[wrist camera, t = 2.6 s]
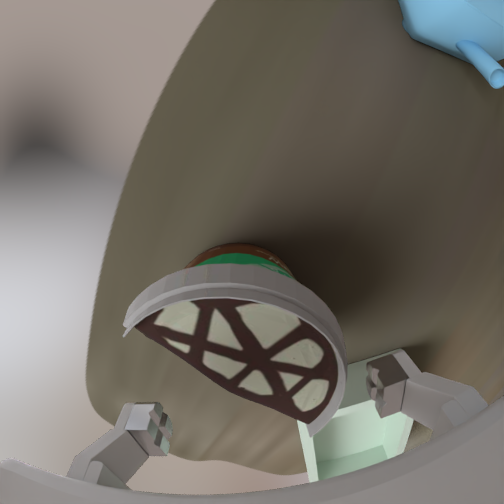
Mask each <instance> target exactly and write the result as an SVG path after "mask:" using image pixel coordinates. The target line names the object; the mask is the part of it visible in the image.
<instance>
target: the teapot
mask: <svg viewBox="0 0 504 504" xmlns="http://www.w3.org/2000/svg"><path fill="white" fill-rule="evenodd" d="M398 2H399V5H400V8H401V12H402V15H403V18H404V19H403V20H402V25H403V27H404V29H405V30H406V31H407V32H408V33H409V35H410V37H411V38H413V39H415V40H417V41H419V42H422V43H424V44H426V45H429V46H431V47H434V48H436V49H438V50H441V51H443V52H445V53H448V54H450V55H452V56H454V57H457V58H459V59H461V60H463V61H466V62H468V63H470V64H473V65H474V66H475V67H476V69H477V70H478V71H479V72H480V73H481V74H482V75H483V77H484V78H485V79H486V80H487V81H488V82H489V84H490V85H491V86H492V87H493V88H496V89H499V88H501V87H503V86H504V69H503V68H502V67H501V66H500V65H499V64H498V63H497V62H496V61H499V60H501V59H504V0H398Z"/></svg>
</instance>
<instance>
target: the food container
mask: <svg viewBox="0 0 504 504" xmlns="http://www.w3.org/2000/svg"><path fill="white" fill-rule="evenodd" d="M123 326H125V327H126V328H127V329H126V331H125V333H124V334H123V337H125V336H126V335H127V334H128V333H129V331H130V330H131V329H132V328H133V327H135V328H136V329H137V330H139V331H140V332H142V333H143V334H144V335H145V336H146V337H148V338H150V339H152V340H154V341H155V342H157V343H159V344H160V345H162V346H164V347H165V348H167V349H168V350H170V351H171V352H173V353H174V354H176V355H177V356H179V357H180V358H182V359H183V360H185V361H186V362H187V363H189V364H190V365H192V366H193V367H194V368H196V369H197V370H198V371H200V372H201V373H202V374H204V375H205V376H207V377H208V378H209V379H211V380H212V381H214V382H215V383H217V384H218V385H220V386H221V387H223V388H224V389H226V390H227V391H229V392H231V393H233V394H236V395H238V396H240V397H243V398H245V399H248V400H250V401H253V402H256V403H259V404H262V405H265V406H267V407H270V408H272V409H275V410H277V411H279V412H281V413H283V414H285V415H288V416H290V417H292V418H294V419H297V420H299V421H301V422H303V423H305V424H306V427H307V430H308V433H309V437H310V438H311V437H312V436H314V435H315V434H316V433H318V432H319V431H320V430H321V429H322V428H323V427H324V426H325V425H326V424H327V423H328V422H329V421H330V420H331V419H332V417H333V416H334V414H335V413H336V412H337V410H338V408H339V406H340V404H341V401H342V399H343V395H344V391H345V385H346V381H347V368H348V364H347V356H346V348H345V343H344V338H343V334H342V330H341V328H340V326H339V324H338V322H337V319H336V317H335V316H334V314H333V313H332V312H331V310H330V309H329V308H328V306H327V305H326V304H325V303H324V302H323V301H322V300H321V299H320V298H319V297H318V296H317V295H316V294H315V293H314V292H312V291H311V290H310V289H308V288H307V287H305V286H303V285H302V284H300V283H299V282H297V281H296V279H295V277H294V276H293V274H292V273H291V271H290V270H289V269H288V267H287V266H286V264H285V263H284V262H283V261H282V260H281V259H280V258H279V257H278V256H276V255H275V254H273V253H272V252H270V251H268V250H266V249H264V248H261V247H259V246H255V245H251V244H243V243H232V244H225V245H220V246H216V247H214V248H211V249H209V250H207V251H205V252H203V253H202V254H200V255H198V256H197V257H196V258H195V259H194V260H192V261H191V262H190V263H189V264H188V265H187V266H186V267H185V268H184V269H183V270H181V271H178V272H175V273H172V274H170V275H167V276H165V277H164V278H162V279H160V280H158V281H157V282H155V283H153V284H151V285H150V286H149V287H148V288H146V289H145V290H144V291H143V292H142V293H141V294H139V295H138V296H137V297H136V299H135V300H134V301H133V302H132V304H131V305H130V306H129V308H128V311H127V314H126V317H125V320H124V323H123Z"/></svg>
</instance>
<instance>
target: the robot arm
mask: <svg viewBox="0 0 504 504" xmlns="http://www.w3.org/2000/svg"><path fill="white" fill-rule="evenodd" d="M366 370H367V372H368V376H367V377H366V386H367V391H368V394H369V396H370V398H371V399H372V400H374V401H375V408H376V410H377V412H378V414H379V416H380V418H384V417H387V416H390V415H392V414H395V413H398V412H400V411H401V413H403V414H405V415H406V416H408V417H410V418H412V419H414V420H415V421H417V422H419V423H421V424H423V425H424V426H426V427H428V428H430V429H432V430H433V433H432V435H431V438H430V440H429V441H428V442H426V443H424V444H422V445H420V446H417V447H415V448H413V449H411V450H409V451H406V452H404V453H402V454H399V455H397V456H394V457H392V458H389V459H387V460H384V461H382V462H379V463H376V464H374V465H371V466H368V467H365V468H362V469H359V470H356V471H352V472H349V473H346V474H342V475H339V476H335V477H331V478H328V479H324V480H319V481H315V482H311V483H306V484H302V485H296V486H291V487H285V488H279V489H273V490H265V491H257V492H247V493H236V494H217V495H181V494H162V493H150V492H141V491H133V490H131V489H130V488H129V487H128V486H126V485H125V484H126V483H127V481H128V480H129V479H130V478H131V477H132V476H133V475H134V474H135V473H136V471H137V470H138V469H139V468H140V467H141V466H142V465H143V463H144V462H145V461H146V460H147V459H148V458H149V456H167V454H168V450H169V445H170V443H169V442H168V439H169V438H170V437H171V436H172V431H173V430H172V422H171V420H170V418H169V416H168V415H167V414H165V413H163V407H162V405H161V404H160V403H159V402H137V403H125V404H124V406H123V408H122V410H121V413H120V415H119V418H118V420H117V422H116V425H115V427H114V430H113V429H111V430H109V431H108V432H107V433H105V434H104V435H103V436H102V437H100V438H99V439H98V440H96V441H95V442H94V443H93V444H91V445H90V446H88V447H87V448H86V449H85V450H83V451H82V452H81V453H79V454H78V455H76V456H75V458H74V460H73V462H72V465H71V467H70V469H69V472H68V474H67V476H62V475H59V474H56V473H52V472H49V471H46V470H43V469H41V468H37V467H35V466H32V465H30V464H27V463H24V462H22V461H20V460H17V459H14V458H8V459H6V460H3V461H1V462H0V504H504V395H503V396H502V397H500V398H499V399H498V400H496V401H495V402H493V403H492V404H491V405H488V404H487V403H486V401H485V400H484V399H483V398H482V397H481V395H480V394H479V393H478V392H477V391H476V390H475V388H474V387H472V386H469V385H465V384H462V383H459V382H456V381H452V380H449V379H446V378H443V377H440V376H437V375H434V374H431V373H427V372H423V373H422V372H421V371H420V370H419V369H418V367H417V366H416V365H415V363H414V362H413V361H412V360H411V358H410V357H409V356H408V355H407V354H406V352H405V351H404V350H402V349H401V350H399V351H396V352H394V353H391V354H389V355H386V356H383V357H380V358H377V359H375V360H372V361H369V362H367V364H366Z"/></svg>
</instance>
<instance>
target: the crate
mask: <svg viewBox="0 0 504 504" xmlns="http://www.w3.org/2000/svg"><path fill="white" fill-rule="evenodd" d="M399 350H401V348H399V349H396V350H393V351H390V352H387V353H384V354H381V355H378V356H375V357H372V358H369V359H366V360H362V361H359V362H355V363H352V364H348V368H347V381H346V385H345V391H344V395H343V399H342V401H341V404H340V406H339V408H338V410H337V412H336V413H335V414H334V416H333V417H332V419H331V420H330V421H329V422H328V423H327V424H326V425H325V426H324V427H323V428H322V429H321V430H320V431H319V432H318V433H316V434H315V435H314V436H312V437H311V438H310V437H309V433H308V430H307V427H306V424H305V423H303V422H301V421H299V420H297V422H298V427H299V432H300V437H301V442H302V447H303V452H304V457H305V462H306V467H307V472H308V477H309V482H310V483H311V482H315V481H319V480H324V479H328V478H331V477H335V476H339V475H342V474H346V473H349V472H352V471H356V470H359V469H362V468H365V467H368V466H371V465H374V464H376V463H379V462H382V461H384V460H387V459H389V458H392V457H394V456H397V455H399V454H402V453H403V452H404V449H405V446H406V443H407V440H408V437H409V434H410V431H411V427H412V424H413V421H414V419H412V418H410V417H408V416H406V415H405V414H403V413H401V411H400V412H398V413H395V414H392V415H390V416H387V417H384V418H380V416H379V414H378V412H377V410H376V408H375V401H374V400H372V399H371V398H370V396H369V394H368V391H367V386H366V377H367V376H368V372H367V370H366V364H367V362H369V361H372V360H375V359H377V358H380V357H383V356H386V355H389V354H391V353H394V352H396V351H399Z"/></svg>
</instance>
